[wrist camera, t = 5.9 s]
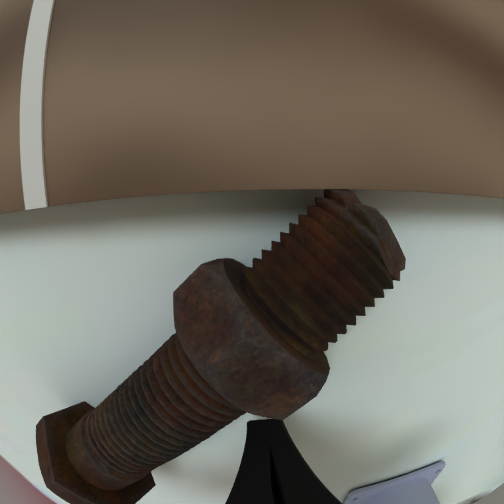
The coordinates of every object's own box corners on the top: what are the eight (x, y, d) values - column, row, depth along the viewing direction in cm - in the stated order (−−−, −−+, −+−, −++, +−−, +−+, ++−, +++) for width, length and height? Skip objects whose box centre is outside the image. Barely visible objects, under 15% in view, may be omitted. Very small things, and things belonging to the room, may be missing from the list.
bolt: (341, 217, 12) (116, 419, 14) (275, 123, 8) (30, 400, 10) (452, 320, 8) (149, 517, 10) (452, 240, 4) (51, 520, 6)
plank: (546, 198, 10) (574, 207, 8) (-68, 221, 8) (-96, 233, 6) (531, 21, 7) (556, 15, 5) (-59, 28, 5) (-84, 22, 3)
